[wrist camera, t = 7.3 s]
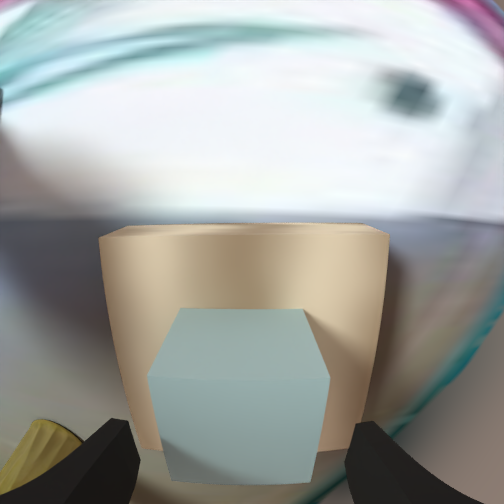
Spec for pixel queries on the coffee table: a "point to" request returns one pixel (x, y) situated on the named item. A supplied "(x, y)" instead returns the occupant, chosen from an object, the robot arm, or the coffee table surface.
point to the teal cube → (239, 396)
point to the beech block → (249, 299)
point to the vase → (37, 453)
